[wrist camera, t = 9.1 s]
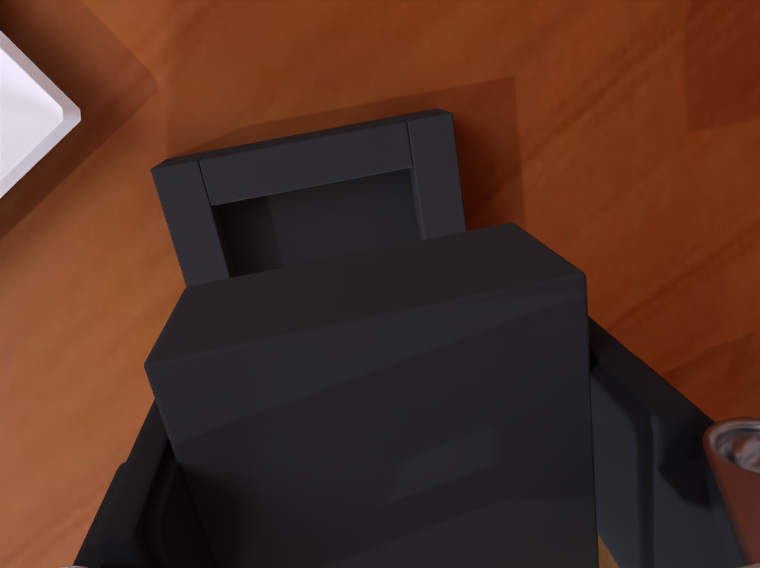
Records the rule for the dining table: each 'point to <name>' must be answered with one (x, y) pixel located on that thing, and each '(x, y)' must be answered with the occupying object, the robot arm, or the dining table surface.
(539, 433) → the small pad
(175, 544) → the robot arm
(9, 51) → the plate
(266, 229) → the base pad
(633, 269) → the dining table surface
